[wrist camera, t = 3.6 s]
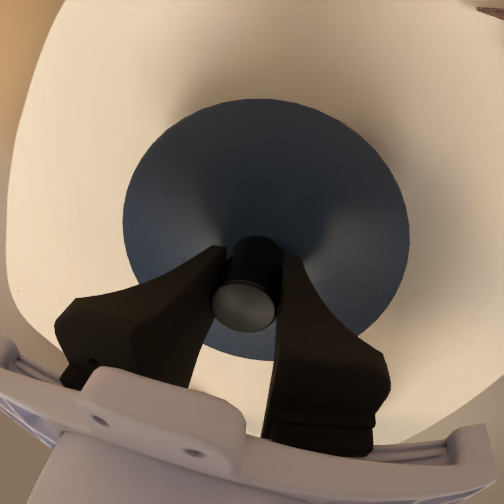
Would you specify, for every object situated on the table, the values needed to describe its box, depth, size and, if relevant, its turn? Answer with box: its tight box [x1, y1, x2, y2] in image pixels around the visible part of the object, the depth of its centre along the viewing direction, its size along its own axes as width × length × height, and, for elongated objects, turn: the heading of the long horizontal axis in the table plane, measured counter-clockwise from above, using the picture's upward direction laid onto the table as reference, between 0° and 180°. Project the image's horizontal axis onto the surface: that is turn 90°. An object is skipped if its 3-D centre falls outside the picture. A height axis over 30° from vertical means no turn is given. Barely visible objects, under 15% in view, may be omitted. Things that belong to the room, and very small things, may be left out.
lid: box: [123, 99, 410, 361], centre depth 12 cm, size 14×14×5 cm
